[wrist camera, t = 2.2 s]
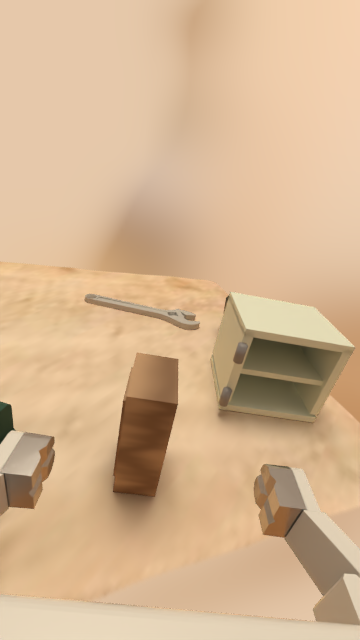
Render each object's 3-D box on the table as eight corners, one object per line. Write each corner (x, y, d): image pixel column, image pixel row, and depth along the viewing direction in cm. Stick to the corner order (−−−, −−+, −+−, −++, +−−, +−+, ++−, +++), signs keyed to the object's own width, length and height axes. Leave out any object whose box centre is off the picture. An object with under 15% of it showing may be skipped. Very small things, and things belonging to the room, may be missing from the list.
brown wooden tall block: (110, 491, 27) (123, 395, 22) (121, 439, 32) (134, 352, 27) (154, 496, 27) (177, 403, 22) (158, 444, 33) (178, 359, 27)
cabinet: (215, 416, 38) (243, 333, 33) (207, 358, 50) (226, 291, 45) (317, 430, 40) (361, 353, 34) (285, 371, 52) (314, 307, 46)
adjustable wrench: (82, 303, 61) (82, 296, 60) (96, 294, 67) (96, 286, 66) (195, 333, 58) (197, 326, 58) (199, 320, 64) (201, 313, 63)
